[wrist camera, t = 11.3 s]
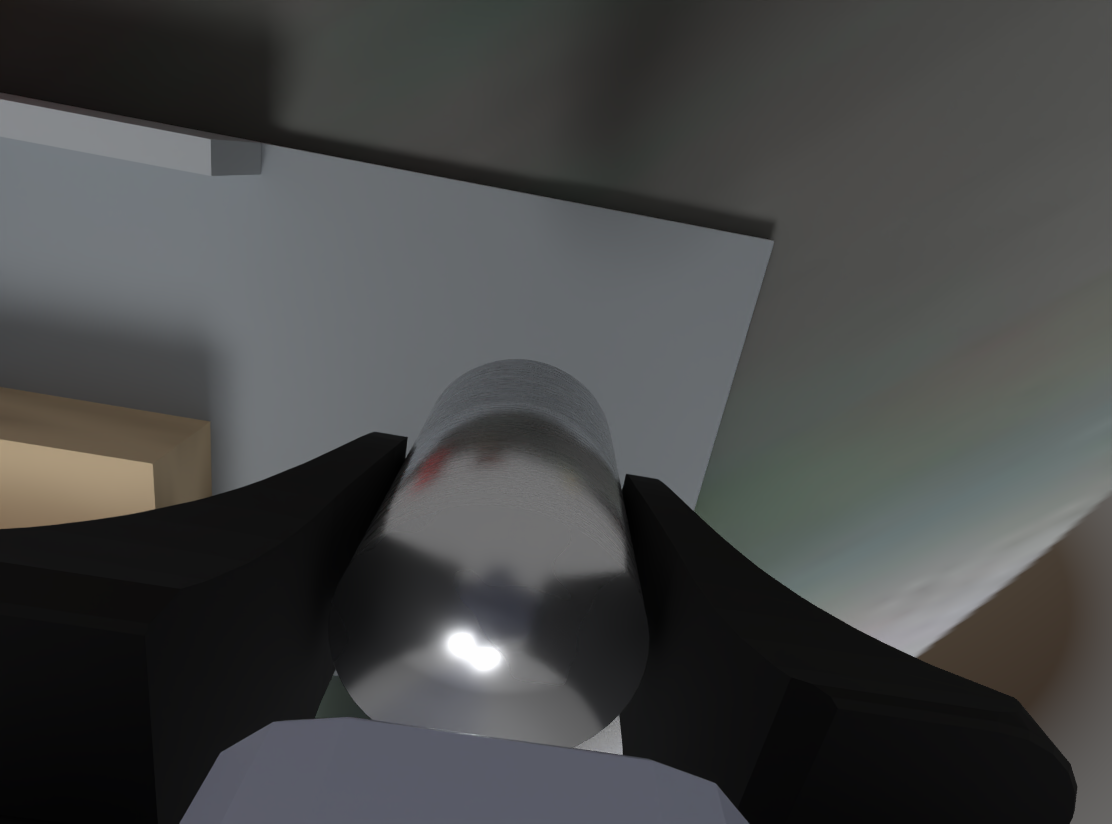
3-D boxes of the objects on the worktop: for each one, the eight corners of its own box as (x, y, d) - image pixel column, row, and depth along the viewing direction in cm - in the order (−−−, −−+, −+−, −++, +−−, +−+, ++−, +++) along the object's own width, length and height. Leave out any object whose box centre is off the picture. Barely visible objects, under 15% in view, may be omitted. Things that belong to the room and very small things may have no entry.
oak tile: (213, 601, 22) (164, 664, 20) (9, 571, 22) (-72, 630, 19) (210, 421, 20) (152, 463, 17) (-22, 383, 19) (-120, 419, 17)
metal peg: (590, 543, 14) (610, 782, 9) (414, 514, 14) (318, 740, 8) (630, 378, 13) (685, 536, 7) (436, 342, 13) (339, 477, 7)
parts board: (630, 709, 24) (640, 779, 22) (-38, 613, 23) (-121, 675, 20) (770, 239, 18) (808, 252, 15) (-149, 64, 17) (-293, 43, 14)
